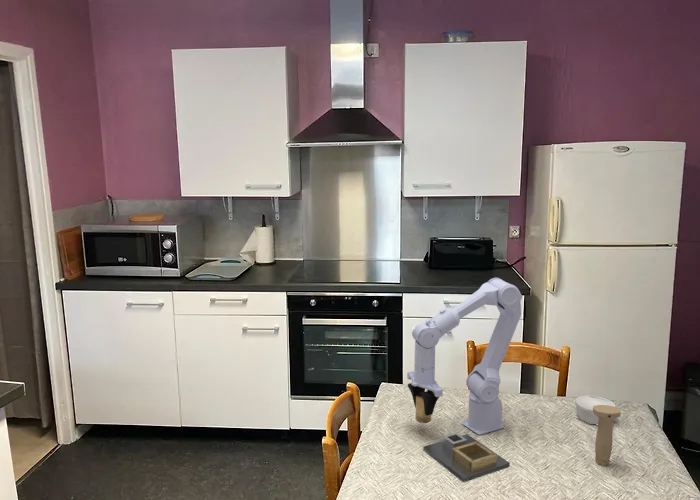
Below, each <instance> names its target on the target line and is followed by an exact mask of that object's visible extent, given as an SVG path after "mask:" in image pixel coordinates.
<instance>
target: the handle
mask: <svg viewBox="0 0 700 500" xmlns="http://www.w3.org/2000/svg"><path fill="white" fill-rule="evenodd" d="M621 412H622V411H621V409H620V408H618V407H613V406H609V405H596V406H593V413H594V414H595V415H596V416H598V417H599V421H598V426H597V428H596V429H597V430H596V436H595V443H594V453H595V454H594V455H595V458H594V459H595V462H596V464H597V465H600V466H602V465H603V466H602V467H605V466H609V464H610V462H611V461H610V459H611V456H612V449H613V431H614V430H613V427H614V425H613V423H614V420H615V419H618V418H620V416H621Z"/></svg>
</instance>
